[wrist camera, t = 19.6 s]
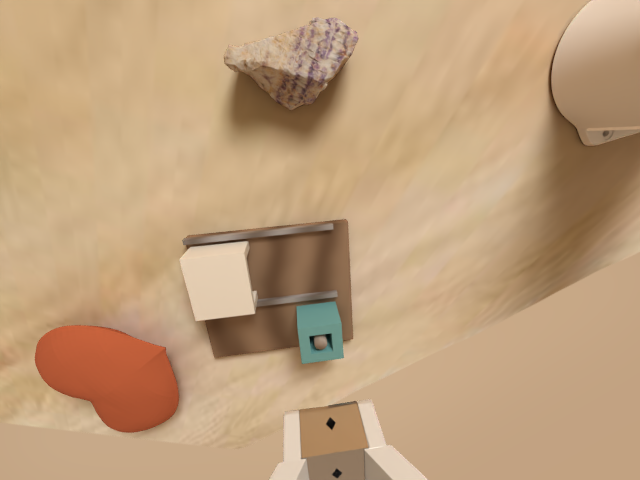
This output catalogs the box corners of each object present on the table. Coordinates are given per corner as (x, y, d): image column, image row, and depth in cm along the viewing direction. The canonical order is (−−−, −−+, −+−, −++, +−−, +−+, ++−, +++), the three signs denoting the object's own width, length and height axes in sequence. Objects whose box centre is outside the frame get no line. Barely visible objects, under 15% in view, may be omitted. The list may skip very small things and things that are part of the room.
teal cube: (335, 301, 41) (341, 323, 36) (337, 333, 43) (343, 358, 38) (296, 306, 41) (297, 328, 36) (300, 338, 43) (301, 363, 38)
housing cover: (248, 240, 37) (244, 252, 33) (257, 297, 39) (255, 313, 36) (189, 247, 36) (179, 259, 32) (203, 303, 39) (195, 321, 35)
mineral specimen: (250, 122, 34) (242, 120, 28) (227, 50, 31) (213, 32, 25) (358, 92, 34) (373, 84, 28) (344, 18, 31) (358, -8, 25)
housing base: (346, 218, 38) (356, 234, 33) (351, 333, 45) (361, 363, 39) (187, 234, 37) (169, 254, 31) (216, 351, 43) (205, 385, 38)
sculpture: (210, 413, 38) (126, 459, 41) (223, 373, 44) (149, 415, 47) (84, 310, 32) (-6, 372, 34) (119, 279, 38) (40, 334, 40)
